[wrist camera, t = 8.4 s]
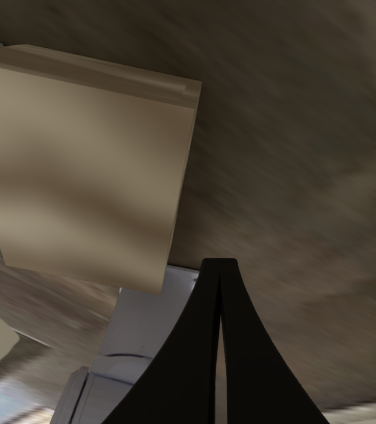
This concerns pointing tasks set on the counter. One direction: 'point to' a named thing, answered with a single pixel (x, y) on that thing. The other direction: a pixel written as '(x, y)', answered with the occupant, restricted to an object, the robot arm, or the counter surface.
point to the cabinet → (91, 165)
